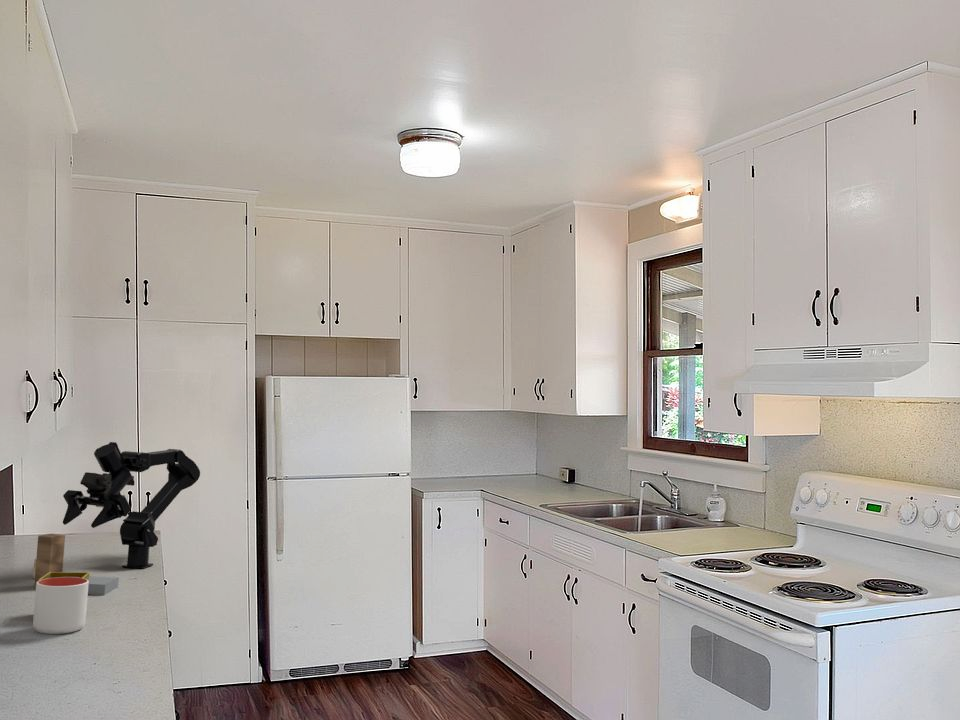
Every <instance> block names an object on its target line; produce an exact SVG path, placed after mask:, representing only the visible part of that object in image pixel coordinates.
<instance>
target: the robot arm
mask: <svg viewBox="0 0 960 720" xmlns="http://www.w3.org/2000/svg"><path fill="white" fill-rule="evenodd" d="M93 455H94V457H95V460H96V461H97V463H98V465H99V467H100V468H101V470H102V472H104V473H97V472H87V471H86V472H84V474H83V477H82V478H81V480H80V482H79V484H80V485H82V486H83V487H86V488H87V489H86V493H87V495H84V494H83V491H82V490H73V489H68V490H66V492H64V493H63V495H62V497H63V499H64V500H65V503H66V505H67V509H66V511H65V515H64V517H63V519H62V524H63V525H68V524H69V523H71V522H72V521H73V520H75V519H77V518H78V517H79V516H81V515H83V511H85V510H86V509H87V508H88V506H94V507H96V508H102V509H101V511H100V512H99V513H98V515H97V516H95V518H94V519H93V521H92V523H91V528H92V529H95V528H97V527H99V526H101V525H104V524H106V523H109V522H111V521H113V520H115V519H121V518H122V517H126V518H125V519H122V523H121V525H120V527H119V534H120V539H121V540H120V541H121V545H123V546H128V547H127V548H128V549H127V560H126V562H127V563H125V564H122V566H121V567H122V568H129V569H139V568H143V569H145V567H146V568H149V567H152V566H154V563H151V562H149V560H150V548H153V547H155V546H157V545H158V541H159V537H158V536H157V534H156V533H155V532H154V531H155V526H156V521H157V520H158V519H159V518H160V516H161V515H162V514H163V513H164V511H166V510H167V508H168V507H169V506H170V504H171V503H172V502H173V501H174V500H175V499H176V498H177V496H178V495H179V494H180V493H181V491H183V490H186V489H188V488H190V487H192V486H193V485H194V484H196V483H197V482H198V480H199V478H200V477H201V470H200V469H199V465H197V464H196V462H195V461H194V460H193V459H192V458H190V457H188V456H187V455H186V454H185V452H184V451H183V450H181V449H175V448H168V449H165V450H157V451H150V452H143V451H141V452H140V451H139V452H138V451H129V450H128V451H127V450H124V451H122V452H121V450H120V449H119V446H118V443H117V442H116V441H110V442H109V443H107V444H104V445H102V446H99V447H98V448H96V449H95V450H94V452H93ZM160 465H166V470H167V472H168V476H167V477H168V478H167V482H166V483H164V485H163V486H162V487H161V489H160V490H159V491H158V492H157V493H156V494H155V495H154V497H152V498H151V500H150V501H149V502H148V503H147V504H146V505H145V506H144V508H143V509H142V510H141V511H133V510H132V511H131V506H130V504H129V501H128V500H127V498H126V496H125V495H124V494H121V492H122V490H123V489H124V488H125V487H126V486H135V476H134V475H132V473H133V472H135V473H143V472H145V471H148V470H149V469H150V468H151V467H154V466H160ZM131 472H132V473H131ZM151 565H152V566H151ZM148 566H149V567H148Z"/></svg>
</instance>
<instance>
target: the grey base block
mask: <svg viewBox="0 0 960 720" xmlns="http://www.w3.org/2000/svg"><path fill="white" fill-rule="evenodd" d="M88 581H89V584H88V594H92V595H91V596H105V594H106V595H108V594H109V593H111V592H113V591H115V590H117V589H118V588H119V577H115V576H114V577H111V576H109V577H108V576H107V577H106V576H92V575H91V576H90V575H89V580H88ZM116 588H117V589H116ZM114 589H115V590H114ZM112 590H113V591H112ZM107 593H108V594H107Z"/></svg>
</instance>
